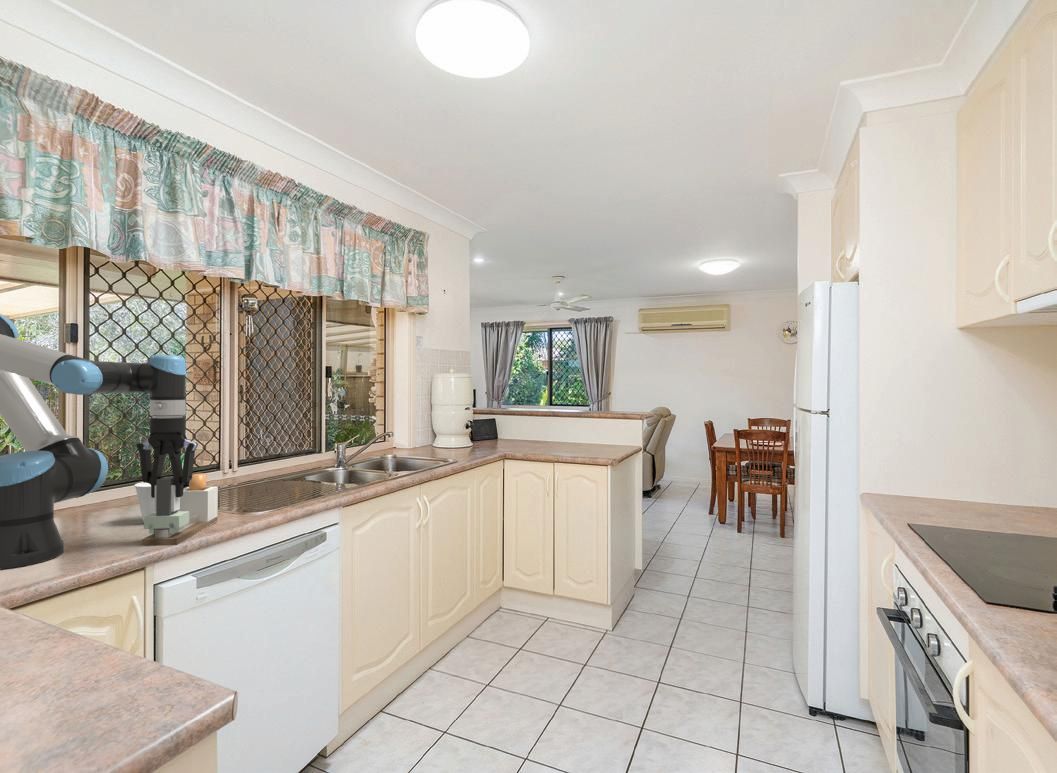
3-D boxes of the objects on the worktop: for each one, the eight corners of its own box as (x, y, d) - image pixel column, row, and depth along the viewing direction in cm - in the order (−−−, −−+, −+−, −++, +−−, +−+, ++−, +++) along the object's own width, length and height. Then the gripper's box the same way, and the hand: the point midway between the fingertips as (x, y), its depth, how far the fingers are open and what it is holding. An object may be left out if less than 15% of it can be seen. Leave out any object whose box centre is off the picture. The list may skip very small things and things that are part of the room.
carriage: (144, 533, 131) (144, 480, 131) (155, 528, 136) (155, 476, 136) (179, 533, 132) (179, 479, 132) (189, 527, 137) (189, 476, 137)
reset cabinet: (176, 522, 146) (176, 491, 146) (187, 516, 152) (187, 487, 152) (207, 521, 147) (207, 490, 147) (217, 516, 153) (217, 486, 153)
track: (141, 545, 130) (141, 531, 130) (187, 522, 152) (187, 509, 152) (176, 544, 131) (176, 530, 131) (217, 521, 153) (217, 509, 153)
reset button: (186, 494, 147) (186, 476, 147) (193, 491, 151) (193, 473, 151) (201, 493, 148) (201, 475, 148) (208, 490, 152) (208, 473, 152)
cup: (141, 528, 145) (140, 488, 145) (130, 522, 152) (129, 483, 151) (182, 520, 153) (181, 482, 153) (170, 514, 159) (169, 478, 159)
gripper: (123, 417, 129) (122, 514, 129) (194, 417, 131) (194, 513, 131) (142, 415, 137) (141, 507, 137) (209, 416, 139) (208, 506, 139)
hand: (167, 510), depth 134 cm, fingers closed on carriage, 3 cm apart
